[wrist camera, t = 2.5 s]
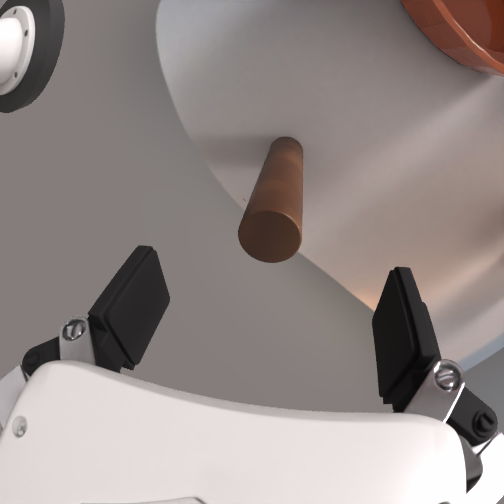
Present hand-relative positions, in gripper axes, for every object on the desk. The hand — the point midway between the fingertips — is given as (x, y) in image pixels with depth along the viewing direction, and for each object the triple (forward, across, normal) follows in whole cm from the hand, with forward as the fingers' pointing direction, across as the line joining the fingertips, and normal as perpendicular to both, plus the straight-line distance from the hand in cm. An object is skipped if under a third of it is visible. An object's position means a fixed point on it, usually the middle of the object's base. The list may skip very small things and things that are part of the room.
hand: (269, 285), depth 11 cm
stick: (+17, +1, 0) cm, 17 cm away
